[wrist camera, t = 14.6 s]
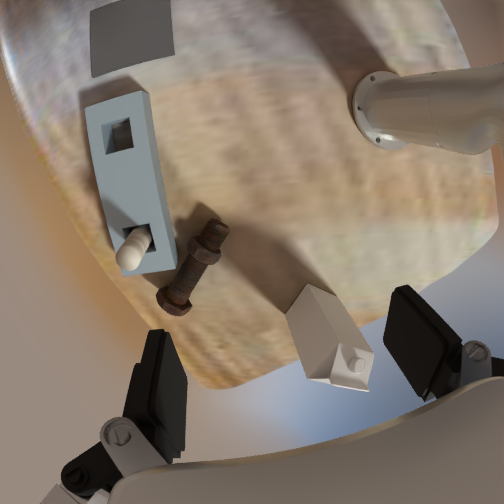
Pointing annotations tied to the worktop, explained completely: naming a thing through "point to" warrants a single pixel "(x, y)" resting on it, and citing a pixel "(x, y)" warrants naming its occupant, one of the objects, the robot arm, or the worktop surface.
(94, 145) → the hole block
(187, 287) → the bolt
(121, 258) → the peg
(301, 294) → the milk carton
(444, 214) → the worktop surface
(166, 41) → the mat
